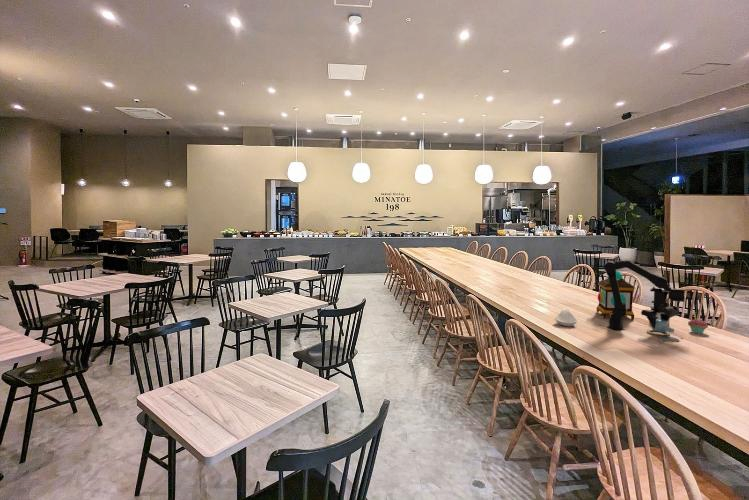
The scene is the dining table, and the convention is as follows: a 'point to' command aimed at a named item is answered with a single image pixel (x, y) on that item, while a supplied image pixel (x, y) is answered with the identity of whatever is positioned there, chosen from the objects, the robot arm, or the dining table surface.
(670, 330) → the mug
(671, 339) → the coaster
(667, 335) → the holder ring
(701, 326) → the cupcake
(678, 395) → the dining table surface
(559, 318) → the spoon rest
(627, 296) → the decorative lantern
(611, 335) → the dining table surface
